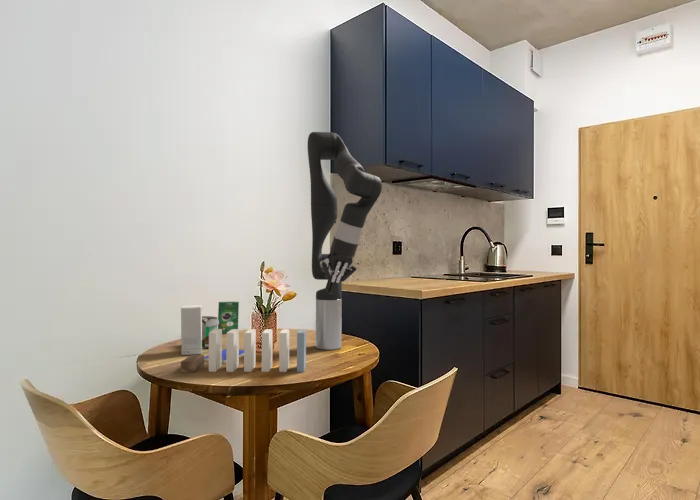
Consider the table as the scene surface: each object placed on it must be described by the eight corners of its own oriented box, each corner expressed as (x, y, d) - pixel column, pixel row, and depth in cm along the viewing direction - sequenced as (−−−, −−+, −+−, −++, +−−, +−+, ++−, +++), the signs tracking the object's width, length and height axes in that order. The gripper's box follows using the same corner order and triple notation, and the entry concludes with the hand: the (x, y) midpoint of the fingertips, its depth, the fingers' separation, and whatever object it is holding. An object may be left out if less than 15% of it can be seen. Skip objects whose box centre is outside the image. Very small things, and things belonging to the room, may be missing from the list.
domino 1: (221, 366, 129) (222, 329, 129) (215, 371, 123) (216, 332, 123) (215, 366, 129) (215, 329, 129) (208, 371, 123) (208, 332, 123)
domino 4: (272, 366, 129) (272, 329, 129) (268, 371, 123) (268, 333, 123) (265, 366, 129) (265, 329, 129) (261, 371, 123) (261, 333, 123)
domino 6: (305, 366, 129) (306, 329, 129) (303, 371, 123) (304, 333, 123) (299, 366, 129) (299, 329, 129) (296, 371, 123) (297, 333, 123)
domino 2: (238, 366, 129) (238, 329, 129) (233, 371, 123) (233, 332, 123) (231, 366, 129) (232, 329, 129) (226, 371, 123) (226, 332, 123)
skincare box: (201, 354, 143) (201, 307, 143) (179, 355, 141) (180, 307, 141) (202, 349, 151) (202, 304, 151) (182, 350, 149) (182, 304, 149)
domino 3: (255, 366, 129) (255, 329, 129) (251, 371, 123) (251, 333, 123) (248, 366, 129) (249, 329, 129) (243, 371, 123) (244, 332, 123)
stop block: (204, 364, 130) (204, 354, 130) (195, 372, 122) (195, 361, 122) (190, 364, 130) (191, 354, 130) (180, 372, 122) (180, 361, 122)
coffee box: (236, 331, 184) (236, 300, 184) (238, 332, 181) (239, 301, 181) (217, 333, 179) (217, 301, 179) (219, 334, 177) (219, 302, 177)
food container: (223, 347, 153) (224, 319, 153) (206, 349, 150) (206, 320, 150) (213, 341, 163) (213, 315, 163) (196, 343, 160) (196, 316, 160)
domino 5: (289, 366, 129) (289, 329, 129) (286, 371, 123) (286, 333, 123) (282, 366, 129) (282, 329, 129) (279, 371, 123) (279, 333, 123)
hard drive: (224, 359, 133) (247, 350, 145) (202, 356, 136) (226, 348, 148) (224, 364, 133) (247, 355, 145) (202, 361, 136) (226, 353, 148)
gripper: (357, 238, 135) (340, 289, 138) (322, 231, 127) (304, 285, 130) (371, 246, 129) (353, 299, 132) (334, 239, 121) (316, 295, 124)
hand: (329, 292), depth 131 cm, fingers closed
